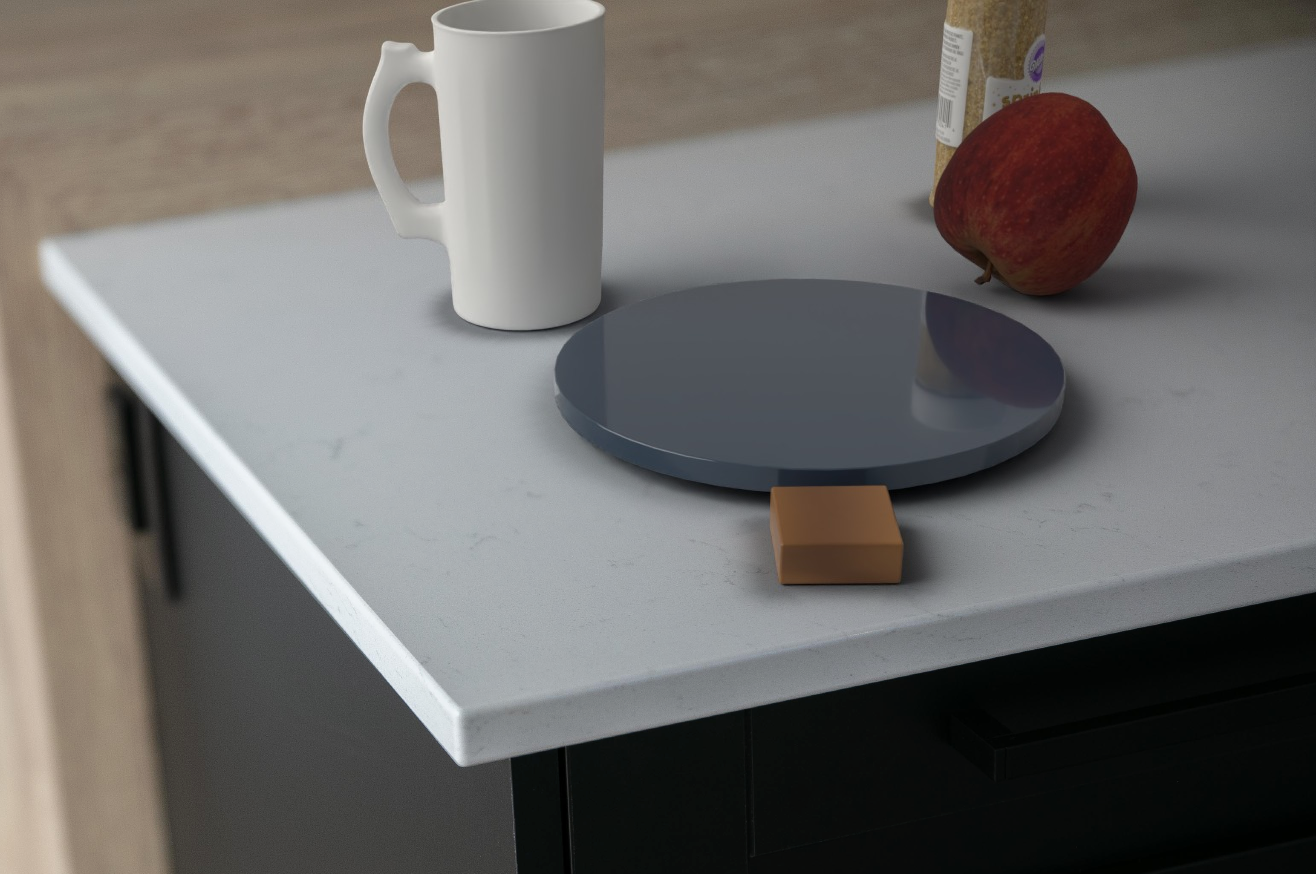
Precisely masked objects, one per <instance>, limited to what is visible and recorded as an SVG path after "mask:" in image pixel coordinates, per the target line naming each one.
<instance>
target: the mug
mask: <svg viewBox="0 0 1316 874" xmlns="http://www.w3.org/2000/svg"><path fill="white" fill-rule="evenodd" d="M606 13H607V9H606V8H605V6H604V5H603V4H602V3H600V2H598V1H595V0H470V1H469V0H468V1H464V2H460V3H456V4H453V5H450V6H448V7H444V8H442V9H439V10H438V11H436V12H435V13H433V15H431V18H430V20H431V24H432V29H433V50H430V51H421V50H419V49H418V47H417V45H416V44H414V43H412V42H398V41H393V40H386V41H384V42H383V43H382V44H381V50H380V51H381V53H380V54H381V55H380V59H379V63H378V65H377V68H376V70H375V73H374V76H373V78H372V81H371V84H370V85H369V86H370V87H369V90H368V93H367V97H366V100H365V105H364V109H363V115H362V141H363V147H364V152H365V153H364V154H365V157H366V158H365V159H366V161H367V162H366V163H367V165H368V168H369V171H370V172H369V173H370V174H371V177H372V179H373V182H374V184H375V186H376V189H377V191H378V193H379V196H380V198H381V199H382V202H383V204H384V207H385V208H386V211H387V213H388V215H389V217H390V219H391V223H392V224H393V226H394V230H395V231H396V233H397V235H398V236H399V237H400V238H402V239H404V240H414V239H415V240H416V239H417V240H419V239H420V240H428V241H432V242H435V243H437V244H439V245H441V246H443V247H444V248H445V249H446V251H447V254H448V259H449V269H450V270H449V271H450V281H451V294H452V295H451V296H452V306H453V309H454V311H455V314H457V315H458V316H459V317H460V318H461V319H463V320H464V321H466V322H468V323H471V324H473V325H476V326H481V327H485V328H489V329H496V330H505V331H532V330H533V331H535V330H544V329H552V328H556V327H562V326H566V325H569V324H571V323H575V322H577V321H580V320H583V319H584V318H587V317H589V316H590V315H592V314H593V313H594V312H595V311H596V310H597V309H598V308H599V306H600V303H601V300H602V268H603V266H602V264H603V246H604V245H603V243H604V168H605V167H604V166H605V165H604V163H605V161H604V159H605V157H604V156H605V155H604V154H605V153H604V152H605V97H606V96H605V93H606V92H605V90H606V88H605V87H606V40H605V16H606V15H605V14H606ZM413 83H423V84H426V85H428V86H430V87H432V88H433V89H434V91H435V93H436V98H437V99H436V100H437V108H438V109H437V110H438V121H439V135H440V137H439V138H440V149H441V161H442V163H441V164H442V175H443V188H444V189H443V190H444V200H443V201H441V202H425V201H422V200H420V199H419V198H417V197H416V196H415V194H414V193H412V192H411V190H410V189H409V188H408V187H407V185H406V184H405V183H404V181H403V180H402V178H401V176H400V173H399V171H398V169H397V165H396V163H395V161H394V157H393V153H392V148H391V144H390V138H389V137H390V135H389V122H390V115H391V110H392V108H393V104H394V102H395V100H396V98H397V96H398V95H399V93H400V92H401V91H402V89H403V88H405V87H406V86H407V85H410V84H413Z"/></svg>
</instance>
